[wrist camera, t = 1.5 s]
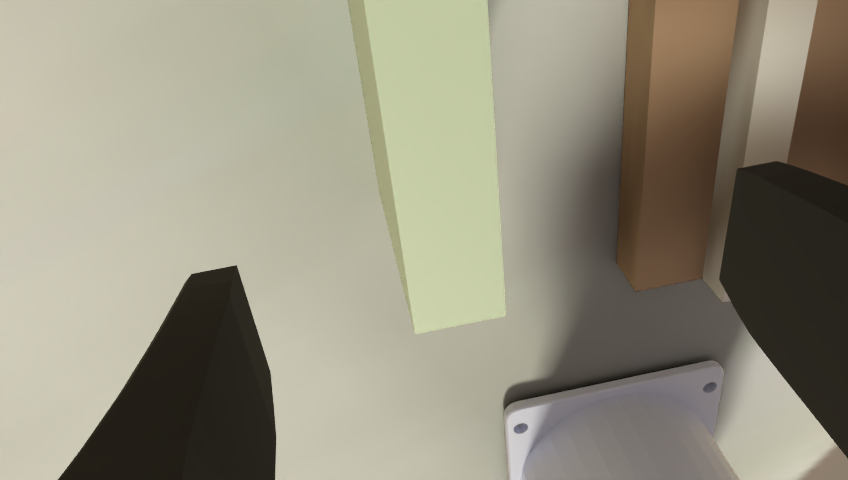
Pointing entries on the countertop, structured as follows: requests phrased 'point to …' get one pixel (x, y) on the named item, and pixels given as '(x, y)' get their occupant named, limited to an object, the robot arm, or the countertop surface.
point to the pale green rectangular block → (435, 152)
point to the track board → (721, 120)
